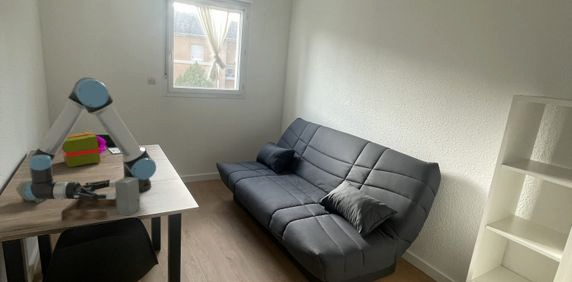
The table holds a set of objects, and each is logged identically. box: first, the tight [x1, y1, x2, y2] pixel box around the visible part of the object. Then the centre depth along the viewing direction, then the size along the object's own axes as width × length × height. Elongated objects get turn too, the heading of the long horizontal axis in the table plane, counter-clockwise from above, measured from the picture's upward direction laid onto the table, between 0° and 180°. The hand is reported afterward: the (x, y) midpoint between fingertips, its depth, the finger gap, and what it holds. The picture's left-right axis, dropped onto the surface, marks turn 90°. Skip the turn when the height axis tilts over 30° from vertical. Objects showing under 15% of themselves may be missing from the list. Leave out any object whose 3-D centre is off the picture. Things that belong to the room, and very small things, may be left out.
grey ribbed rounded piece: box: [16, 178, 47, 204], centre depth 154 cm, size 11×17×11 cm, turn 86°
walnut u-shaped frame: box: [61, 197, 117, 221], centre depth 147 cm, size 18×14×4 cm
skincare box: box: [114, 177, 141, 216], centre depth 149 cm, size 8×7×16 cm
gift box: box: [60, 130, 108, 168], centre depth 214 cm, size 21×21×25 cm
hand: (119, 190), depth 147 cm, fingers open, 13 cm apart
